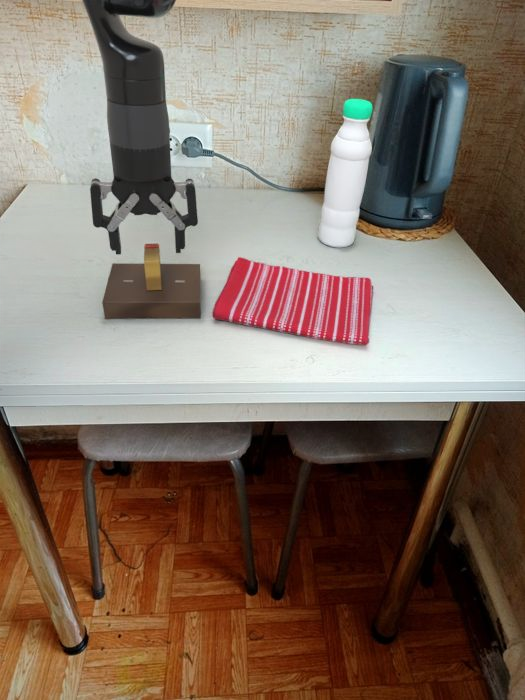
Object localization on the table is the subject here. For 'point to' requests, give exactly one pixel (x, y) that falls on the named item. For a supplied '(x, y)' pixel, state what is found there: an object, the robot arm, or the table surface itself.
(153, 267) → the yellow milk carton
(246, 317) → the dish towel
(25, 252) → the table surface
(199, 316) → the lock plate
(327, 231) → the water bottle
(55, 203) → the table surface
